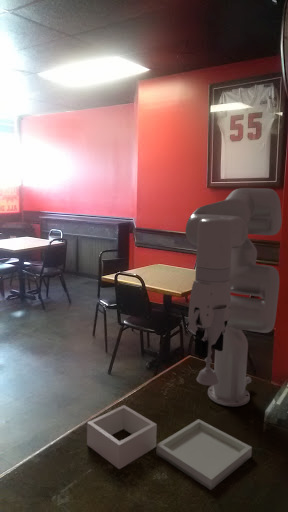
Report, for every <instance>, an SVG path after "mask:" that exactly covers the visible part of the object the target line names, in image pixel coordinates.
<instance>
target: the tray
mask: <svg viewBox="0 0 288 512" xmlns="http://www.w3.org/2000/svg"><path fill="white" fill-rule="evenodd" d="M252 450H253V447H252V446H251V445H250V444H247V443H245V442H243V441H241V440H239V439H237V438H236V437H234V436H233V435H230V434H228V433H226V432H224V431H222V430H220V429H219V428H216V427H215V426H212V425H211V424H209V423H206V422H205V421H203V420H201V419H199V418H198V419H196V420H195V421H193V422H191V423H190V424H188V425H187V426H185V427H183V428H182V429H180V430H179V431H177V432H175V433H173V434H172V435H170V436H168V437H167V438H165V439H163V440H162V441H160V442H158V443H156V454H155V455H157V456H158V457H160V458H161V459H163V460H165V461H166V462H168V463H170V464H171V465H173V467H175V468H177V469H178V470H179V471H181V472H183V473H184V474H186V475H187V476H188V477H190V478H192V479H193V480H194V481H196V482H198V483H200V484H201V485H202V486H204V487H205V488H207V489H209V490H210V491H212V490H213V489H215V487H217V486H218V485H219V484H220V483H221V482H222V481H224V480H225V479H226V478H227V477H228V476H230V475H231V474H232V473H233V472H235V471H236V470H237V469H239V467H241V466H242V465H244V463H246V462H247V461H248V460H249V459H250V458H251V457H252V453H253V451H252Z"/></svg>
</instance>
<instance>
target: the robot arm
mask: <svg viewBox="0 0 288 512" xmlns="http://www.w3.org/2000/svg"><path fill="white" fill-rule="evenodd" d="M281 205H282V204H281V200H280V197H279V195H278V193H277V192H276V191H275V190H274V189H272V188H267V187H266V188H265V187H264V188H263V187H262V188H261V187H260V188H257V187H256V188H255V187H240V188H236V189H234V190H232V191H231V192H230V193H229V194H228V195H227V196H226V198H225V199H224V200H221V201H217V202H213V203H209V204H205V205H202V206H200V207H198V208H196V209H195V210H194V211H193V212H192V214H190V216H189V218H188V219H187V222H186V225H185V230H184V231H185V236H186V239H187V241H188V243H190V244H191V245H194V246H196V261H195V280H194V281H193V283H192V287H191V291H190V296H189V297H190V298H189V303H188V315H187V316H188V320H187V321H188V325H187V330H188V331H189V332H190V333H191V335H192V336H193V338H194V355H195V356H198V357H201V358H204V359H206V358H207V357H208V340H206V339H207V335H208V328H209V327H211V325H212V322H213V317H214V312H213V310H212V309H223V308H225V307H226V305H227V307H226V309H225V310H224V327H223V329H222V332H221V334H220V336H219V338H218V340H217V341H216V343H215V344H213V345H212V346H211V350H214V365H213V366H214V369H213V370H214V371H215V373H216V376H217V379H218V381H219V382H218V383H217V384H216V385H211V386H209V387H208V389H207V395H208V398H209V399H210V400H211V401H213V402H214V403H216V404H218V405H222V406H225V407H233V408H234V407H241V406H244V405H246V404H248V403H249V401H250V400H251V398H250V392H249V391H248V390H247V389H246V388H247V385H248V384H250V383H251V382H252V378H251V376H247V367H248V350H249V342H248V339H247V337H246V335H245V333H244V332H243V331H248V332H257V333H263V334H265V333H266V334H267V333H268V334H269V333H271V332H272V331H273V329H274V327H275V324H276V318H277V309H278V301H279V291H280V275H279V271H278V270H277V268H276V267H274V266H272V265H267V264H266V265H265V264H257V257H258V250H257V248H256V246H255V245H254V243H253V242H252V241H251V239H249V237H248V236H249V235H257V236H275V235H277V234H278V233H280V230H281V228H282V223H283V221H282V220H283V218H282V217H283V216H282V206H281ZM231 293H232V294H236V295H232V294H231ZM240 295H241V296H240ZM242 295H244V296H242ZM248 296H254V297H255V298H254V297H248ZM256 297H260V298H256ZM199 322H202V325H200V324H199ZM200 328H202V329H203V333H202V332H201V331H200Z"/></svg>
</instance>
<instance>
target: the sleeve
mask: <svg viewBox="0 0 288 512" xmlns="http://www.w3.org/2000/svg"><path fill="white" fill-rule="evenodd" d="M157 425H158V424H157V423H155V422H154V421H152V420H151V419H148V417H147V418H146V416H143V415H142V414H140V413H138V412H137V411H135V410H133V409H132V408H130V407H128V406H127V405H125V404H122V405H121V406H119V407H116V408H114V409H113V410H111V411H108V412H106V413H105V414H102V415H100V416H98V417H95V418H93V419H91V420H89V421H87V422H86V426H87V427H86V445H87V446H88V447H89V448H91V449H92V450H93V451H95V452H96V453H97V454H99V456H101V457H102V458H104V459H105V460H106V461H108V462H109V463H111V465H113V466H114V467H115V468H117V469H118V470H120V469H122V468H124V467H126V466H127V465H129V464H130V463H132V462H133V461H136V460H137V459H139V458H140V457H142V456H143V455H145V454H147V453H149V452H150V451H151V450H153V449H154V448H155V449H156V448H157V432H158V431H157V427H158V426H157ZM122 430H124V431H126V432H128V433H130V435H129V436H127V437H125V438H124V439H121V440H118V439H117V438H116V437H114V436H113V435H114V434H115V435H116V433H118V432H121V431H122Z"/></svg>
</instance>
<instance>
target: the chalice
mask: <svg viewBox="0 0 288 512" xmlns="http://www.w3.org/2000/svg"><path fill="white" fill-rule="evenodd" d="M226 307H227V305H226ZM226 307H225V308H223V309H212V310H213V312H214V317H213V322H212V325H211V327H209V328H208V335H207V339H206V340H208V357H207V358H204V361H205V364H206V365H205V367H204V368H202V369H201V370H200V371H199V372H198V375H197V377H196V382H197V383H199V384H201V385H203V386H209V387H211V386H212V385H216V384H217V383H218V382H219V381H218V379H217V376H216V373H215V371H214V369H213V368H211V363H212V362H213V360H212V358H211V356H212V354H213V351H212V348H211V346H212V345H213V344H215V343H216V341H217V340H218V338H219V336H220V334H221V332H222V329H223V327H224V310H225V309H226ZM199 324H200V325H202V322H199ZM200 331H201V332H202V333H203V329H202V328H200Z"/></svg>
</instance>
